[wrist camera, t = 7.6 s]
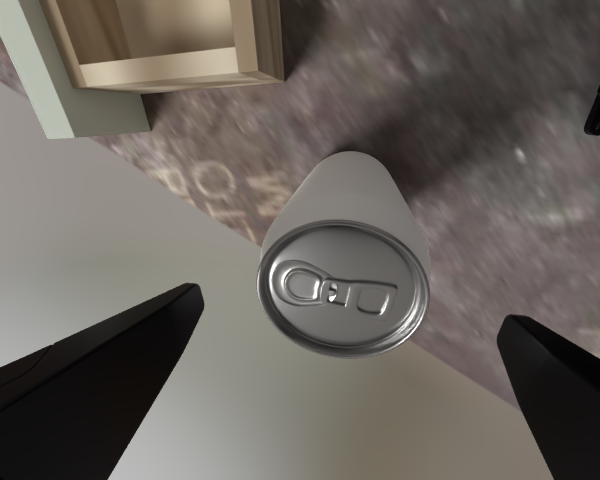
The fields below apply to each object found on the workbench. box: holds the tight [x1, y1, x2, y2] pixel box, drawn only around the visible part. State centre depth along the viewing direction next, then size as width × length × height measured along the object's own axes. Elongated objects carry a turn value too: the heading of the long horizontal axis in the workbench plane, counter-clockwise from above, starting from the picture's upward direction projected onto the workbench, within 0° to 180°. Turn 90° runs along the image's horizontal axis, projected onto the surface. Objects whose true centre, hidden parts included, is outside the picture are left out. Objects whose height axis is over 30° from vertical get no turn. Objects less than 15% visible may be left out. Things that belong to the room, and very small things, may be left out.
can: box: [257, 151, 431, 359], centre depth 13 cm, size 6×6×12 cm
